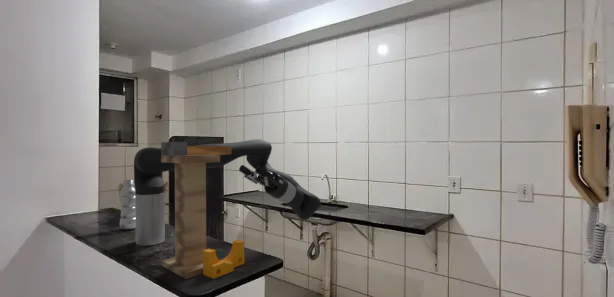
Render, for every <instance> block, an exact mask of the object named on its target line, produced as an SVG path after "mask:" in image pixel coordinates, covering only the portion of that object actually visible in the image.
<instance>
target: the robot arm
mask: <svg viewBox="0 0 614 297" xmlns="http://www.w3.org/2000/svg"><path fill="white" fill-rule="evenodd" d="M195 146H231V154H220V162H213V163H206V169H212V168H213V169H214V168H221V167H224V166H225V165H227V164H229V163H231V162H233V161H235V160H238V158H242V157H245V159H246V161H247V163H248V164H249V165H250V166H251V167H252V168H253V169H254V170H252V169H250V168H248V167H247V166H245V165H244V164H242V165H239V169H238V171H239V172H240V173H242V174H243V175H244V176H243V177H244V178H245V179H247V180H249V182H252V183H253V184H256V185H258V184H259V186H260V185H261V186H263V188H264V189H263V190H264V192H265V193H266V194H268V195H269V196H271V197H272V198H274V199H276V200H277V201H279V202H281V203H284V204H285V205H287V206H289V207H290V208H291V209H292V210H293V212H294V213H295V215H296V216H297V217H298V218H299V219H300V220H303V221H307V220H309V219H310V218H311V217H312V216H313V215H314V214H315V213H316V212H317V211H318V210H319V208H321V206H322V204H321V202H322V201H321V199H320V198H319V197H318V196H317V195H315V194H313V193H311V192H309V191H308V190H306V189H305V188H303V187H302V186H301V185H300V183H298V182H297V181H296V180H295V179H294V178H293V177H292V176H291V175H290V174H288V173H286V172H283V171H280V170H277V169H275V168H274V167H272V166H271V164H270V163H269V159H270V157H271V154H272V150H273V148H272V144H271V143H270V142H269V141H268V140H264V139H259V138H257V139H251V140H242V141H238V142H237V141H236V142H227V143H206V144H205V143H204V144H198V145H195ZM169 171H175V163H165V162H161V147H154V146H153V147H152V146H151V147H144V148H141V149H139V150H138V151H137V152H136V154H135V156H134V158H133V180H134V187H135V202H136V228H135V245H136V246H141V247H142V246H143V247H144V246H145V247H146V246H154V245H158V244H162V243H164V242H165V240H166V238H165V236H166V235H165V234H166V233H165V232H166V226H165V225H166V223H165V222H166V221H165V220H166V219H165V217H166V215H165V211H166V210H165V209H166V208H165V204H166V202H165V201H166V200H165V198H166V196H165V184H164V179H163V178H164V177H163V173H164V172H169Z"/></svg>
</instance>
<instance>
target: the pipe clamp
mask: <svg viewBox="0 0 614 297" xmlns="http://www.w3.org/2000/svg"><path fill="white" fill-rule="evenodd" d="M216 252H217V251H216V250H215V249H211V248H206V250H203V274H202V275H203V276H206V277H208V278H210V279H217V278H219V277H222V276H224V275H227V274H230V273H232V272H234V268H236V267H238V266H239V267H240V266H242V265H244V264H245V240H241V239H237V240H233V241H232V246H231V249H230V250H229V253H228V254H227V256H225V257H224V258H222V259H219V258H218V256H217V253H216Z"/></svg>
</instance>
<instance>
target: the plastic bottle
mask: <svg viewBox="0 0 614 297" xmlns="http://www.w3.org/2000/svg"><path fill="white" fill-rule="evenodd" d="M122 186H123V187H121V190H120V191H119V195H118V196H119V201H120V219H119V227H120V229H121V230H128V231H129V229H130V230H134V229H136V202H135V184H134V179H125V180H123V182H122Z"/></svg>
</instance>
